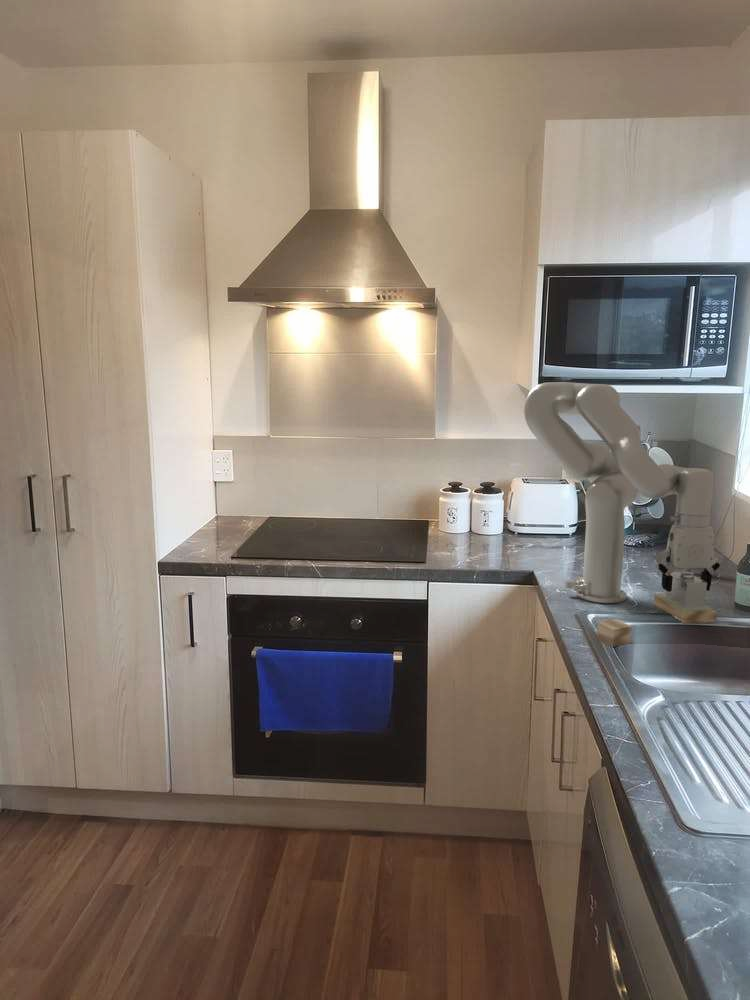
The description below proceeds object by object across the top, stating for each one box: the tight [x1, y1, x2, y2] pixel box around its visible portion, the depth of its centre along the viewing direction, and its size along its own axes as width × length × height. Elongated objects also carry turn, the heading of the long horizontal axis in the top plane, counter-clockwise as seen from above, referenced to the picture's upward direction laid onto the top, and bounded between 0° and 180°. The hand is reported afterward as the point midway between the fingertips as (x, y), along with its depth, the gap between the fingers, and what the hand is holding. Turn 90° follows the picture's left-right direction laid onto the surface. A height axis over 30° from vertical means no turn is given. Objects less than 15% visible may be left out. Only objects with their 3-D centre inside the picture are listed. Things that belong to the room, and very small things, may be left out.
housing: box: [665, 570, 707, 607], centre depth 173 cm, size 9×5×7 cm, turn 7°
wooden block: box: [653, 593, 718, 624], centre depth 174 cm, size 8×14×3 cm, turn 6°
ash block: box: [596, 618, 633, 648], centre depth 155 cm, size 5×5×4 cm
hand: (685, 589), depth 173 cm, fingers open, 9 cm apart
